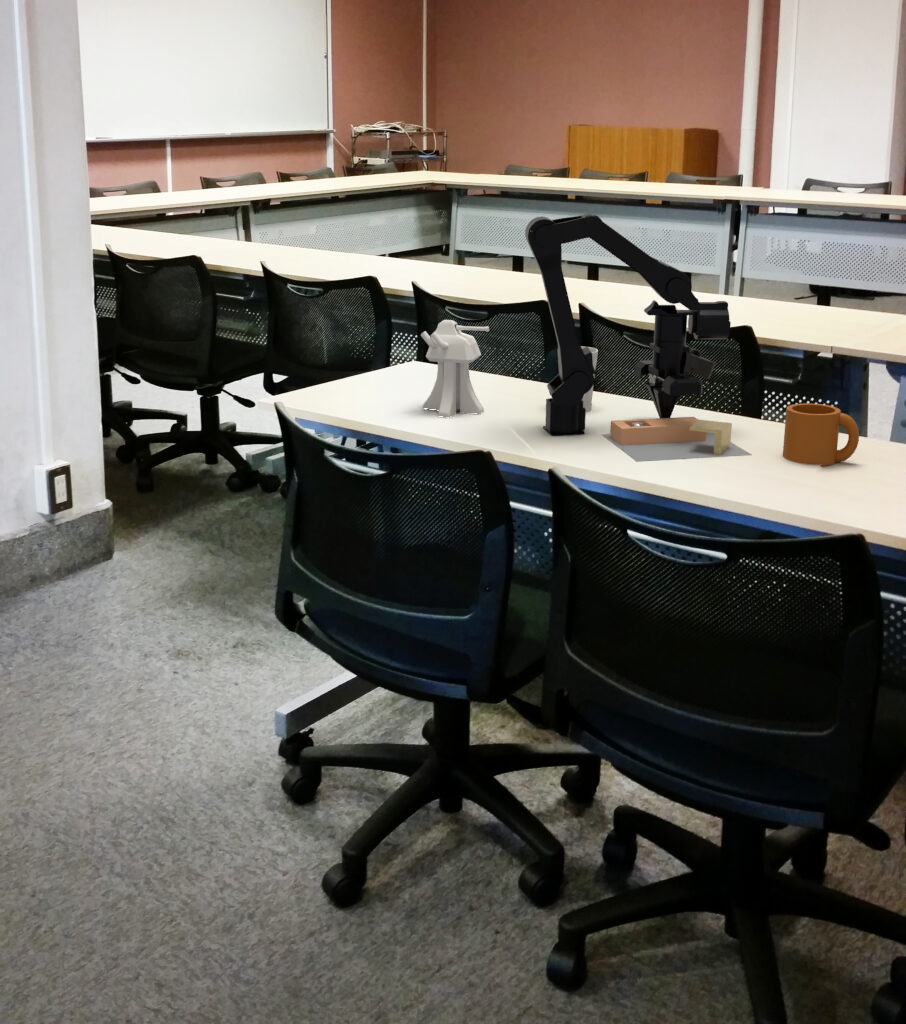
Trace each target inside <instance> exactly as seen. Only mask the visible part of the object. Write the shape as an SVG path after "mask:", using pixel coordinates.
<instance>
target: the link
mask: <svg viewBox="0 0 906 1024" xmlns="http://www.w3.org/2000/svg"><path fill="white" fill-rule="evenodd" d="M699 420H700V419H699V418H696V417H695V416H682V417H681V416H679V417H670V418H660V417H658V418H641V419H623V420H621V419H620V420H610V433H609V434H610V437H611V438H612V439H614V440H615V441H616V442H618V443H619V444H620V445H634V444H653V443H672V442H690V441H706V432H700V431H692V430H690V426H692V425H693V424H695V423H696V422H697V421H699ZM635 422H639V423H643V426H638V427H632V423H635Z"/></svg>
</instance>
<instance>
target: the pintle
mask: <svg viewBox="0 0 906 1024" xmlns="http://www.w3.org/2000/svg"><path fill="white" fill-rule="evenodd" d="M638 426H643V423H639V422H635V423H632V427H638Z"/></svg>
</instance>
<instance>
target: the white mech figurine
mask: <svg viewBox="0 0 906 1024" xmlns="http://www.w3.org/2000/svg"><path fill="white" fill-rule="evenodd" d="M462 331H477V332H479V331H480V332H484V331H485V333H488V332H489V331H490V327H489V326H472V325H471V326H468V325H467V326H466V325H458V322H457V321H455V320H452V319H443V320H442V321H441V322H438V324H437V327H436V329H435V330H434V331H433V332H432V334H430V335H429V333H428V332H427V331H426V330H425V331H423V332H421V334H420V337H421V339H423V340H424V342H425V343H426V344H427V345H428V349H427V352H426V355H425V357H426V359H427V360H428V361H429V362H435V363H437V373H436V374H437V375H436V380H435V382H434V385H433V388H432V391H431V392H430V394H429V396H428V397H427V399H426V401H424V403H423V405H422V409H423V408H428V409H436V410H439V411H437V412H438V416H443V417H450V416H452V415H453V414H454V415H456V414H459V413H458V412H464V413H463V414H467V413H477V414H476V415H479V414H480V415H482V414H483V413H484V412H485V409H484V406H483V405H482V403H481V402H480V399H479V398H478V397H477V394H476V392H475V390H474V387H473V385H472V382H471V379H470V378H471V377H470V364H471V363H472V362H474V361H475V360H478V358H480V356H482V353H481V350H480V348H479V345H478V343H477V340H476V339H475V336H473V335H471V334H467V333H464V332H462ZM482 412H483V413H482ZM455 413H456V414H455ZM481 413H482V414H481ZM454 415H453V416H454ZM453 416H452V417H453ZM450 418H451V417H450Z"/></svg>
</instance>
